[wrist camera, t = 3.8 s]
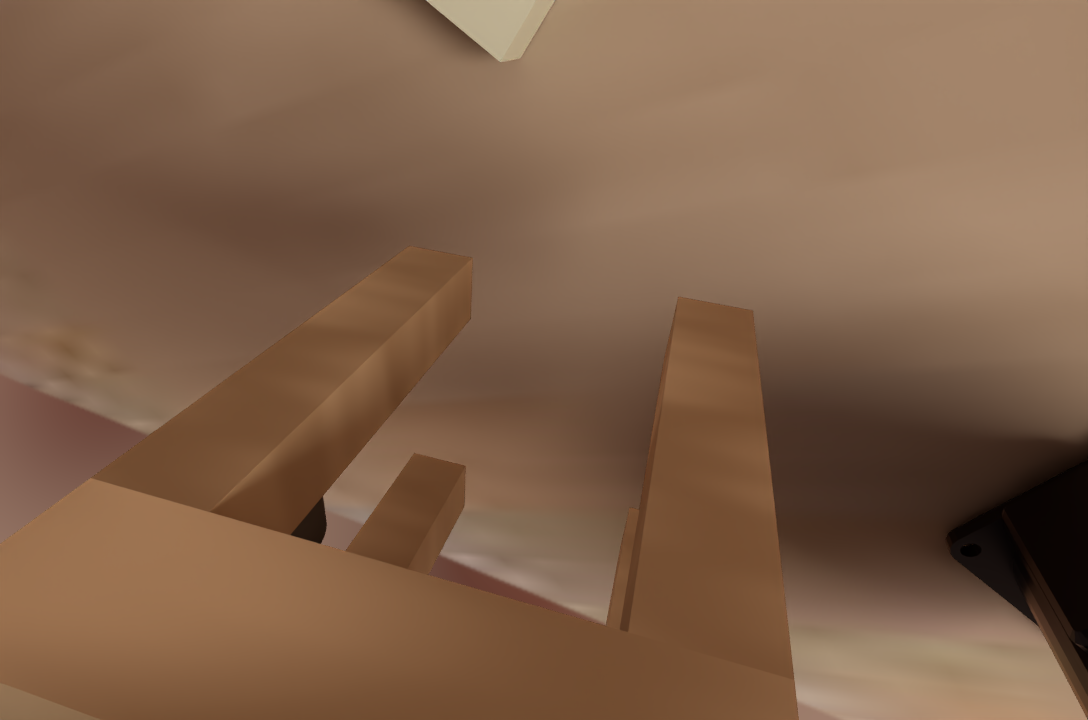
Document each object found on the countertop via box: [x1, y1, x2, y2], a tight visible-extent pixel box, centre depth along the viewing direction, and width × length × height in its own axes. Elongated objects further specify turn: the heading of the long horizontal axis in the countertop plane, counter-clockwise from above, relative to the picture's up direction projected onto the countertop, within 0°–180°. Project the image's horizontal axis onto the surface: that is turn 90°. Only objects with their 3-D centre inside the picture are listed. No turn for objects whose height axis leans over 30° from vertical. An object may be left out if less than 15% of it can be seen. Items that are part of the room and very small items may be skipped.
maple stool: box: [0, 246, 799, 720], centre depth 8 cm, size 6×6×8 cm
